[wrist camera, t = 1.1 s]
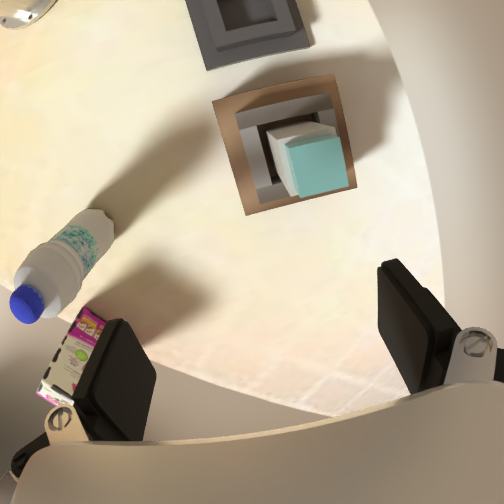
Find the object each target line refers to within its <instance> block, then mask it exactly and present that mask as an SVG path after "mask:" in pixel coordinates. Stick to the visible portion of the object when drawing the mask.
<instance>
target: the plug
mask: <svg viewBox="0 0 504 504" xmlns="http://www.w3.org/2000/svg"><path fill="white" fill-rule="evenodd" d="M264 130H265V134H266V138H267V141H268V145H269V149H270V153H271V157H272V160H273V164H274V168H275V170H276V172H277V173H278V175H279V177H280V179H281V180H282V182H283V184H284V186H285V187H286V189H287V191H288V193H289V194H290V196H291V197H292V196H296V195H299V196H300V198H303V197H307V196H311V195H315V194H319V193H323V192H327V191H332V190H336V189H340V188H344V187H348V186H349V184H348V178H347V172H346V167H345V161H344V156H343V151H342V146H341V141H340V137H338V136H337V134H336V130H335V127H332V126H328V125H324V124H320V123H316V122H311V121H307V120H302V121H298V122H293V123H289V124H284V125H280V126H276V127H272V128H268V129H264Z"/></svg>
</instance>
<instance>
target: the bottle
mask: <svg viewBox="0 0 504 504" xmlns="http://www.w3.org/2000/svg"><path fill="white" fill-rule="evenodd" d="M114 238H115V235H114V222H113V220H112V219H109V218H108V217H107V216H106V215H105V212H104V211H103V210H101V209H95V210H94V209H85V210H83V211H81V212H80V213H78V214H77V215H76V216H75V217H74V218H73V219H72V220H71V221H70V222H69V223H68V224H67V225H66V226H65V227H64V228H63V229H61V230H60V231H59V232H58V233H57V234H56V235H55V236H53V237H52V238H51V239H50V240H49V241H48V242H46V243H42V244H40V245H39V246H37V247H36V248H35V249H33V250H32V251H31V252H30V253H29V254H28V256H27V258H26V259H25V260H24V262H23V263H22V264H21V266H20V267H19V269H18V270H17V272H16V274H15V278H14V286H15V291H14V292H13V293H12V295H11V297H10V308H11V311H12V313H13V314H14V316H15V317H16V318H17V319H18V320H20V321H21V322H23V323H26V324H31V323H34V322H36V321H37V320H38V319H39V318H40V317H42V318H52V317H55V316H57V315H58V314H59V313H60V312H61V311H62V310H63V309H64V308H65V307H66V306H67V305H68V304H69V303H71V302H72V301H73V300H74V299H75V297H76V295H77V293H78V292H79V290H80V289H81V286H82V281H83V280H84V278H85V277H86V276H87V274H88V273H89V272H90V270H91V269H92V268H93V266H94V265H95V264H96V262H97V261H98V260H99V259H100V258H101V257H102V256H103V255H104V254H105V253H106V252H107V251H108V249H109V248H110V247H111V245H112V243H113V241H114Z"/></svg>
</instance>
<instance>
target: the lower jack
mask: <svg viewBox="0 0 504 504" xmlns="http://www.w3.org/2000/svg"><path fill="white" fill-rule="evenodd" d="M185 1H186V4H187V8H188V11H189V14H190V18H191V21H192V24H193V27H194V31H195V34H196V37H197V41H198V44H199V47H200V51H201V54H202V57H203V61H204V64H205V67H206V70H207V71H210V70H214V69H217V68H221V67H224V66H228V65H232V64H235V63H239V62H243V61H247V60H251V59H256V58H260V57H265V56H269V55H274V54H279V53H284V52H290V51H295V50H301V49H307V48H309V47H310V45H309V42H308V38H307V35H306V32H305V29H304V26H303V22H302V19H301V16H300V13H299V10H298V7H297V4H296V1H295V0H185Z"/></svg>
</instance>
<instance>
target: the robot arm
mask: <svg viewBox="0 0 504 504" xmlns="http://www.w3.org/2000/svg"><path fill="white" fill-rule="evenodd" d="M55 1H56V0H0V24H1V25H2V26H3V27H5V28H7V29H21V28H24V27H27V26H29V25H31V24H32V23H34V22H35V21H37V20H38V19H39V18H40V17H42V16H43V15H44V14H45V13H46V12H47V11H48V10H49V9H50V7H51V6H52V5H53V4H54V2H55ZM377 279H378V329H379V333H380V335H381V337H382V339H383V340H384V342H385V344H386V346H387V348H388V350H389V352H390V354H391V356H392V358H393V360H394V362H395V364H396V366H397V368H398V370H399V372H400V373H401V375H402V377H403V380H404V382H405V384H406V386H407V388H408V390H409V392H410V394H411V395H409V396H406V397H403V398H400V399H397V400H394V401H390V402H387V403H384V404H380V405H377V406H374V407H370V408H366V409H363V410H359V411H356V412H352V413H348V414H345V415H341V416H337V417H333V418H329V419H324V420H320V421H316V422H311V423H307V424H301V425H296V426H291V427H286V428H280V429H275V430H269V431H263V432H256V433H249V434H241V435H234V436H225V437H215V438H204V439H192V440H191V439H190V440H175V441H142V440H143V435H144V430H145V426H146V421H147V416H148V412H149V408H150V403H151V398H152V394H153V390H154V386H155V382H156V371H155V369H154V367H153V366H152V364H151V362H150V360H149V359H148V357H147V355H146V354H145V352H144V350H143V348H142V347H141V345H140V343H139V341H138V340H137V338H136V336H135V334H134V332H133V330H132V329H131V327H130V325H129V323H128V322H126V321H124V320H123V319H121V318H120V319H114V320H109V321H107V322H106V324H105V326H104V328H103V330H102V332H101V334H100V336H99V338H98V340H97V342H96V344H95V347H94V349H93V351H92V353H91V355H90V357H89V359H88V361H87V363H86V366H85V368H84V370H83V372H82V374H81V377H80V379H79V381H78V383H77V386H76V388H75V390H74V393H73V395H72V397H71V399H72V400H73V401H74V404H73V406H72V405H70V404H60V405H58V406H56V407H55V408H54V409H52V410H51V411H50V413H49V414H48V415H47V417H46V419H45V429H46V432H45V433H43V434H42V435H41V436H39V437H38V438H36V439H35V440H33V441H32V442H31V443H29V444H28V445H26V446H25V447H24V448H22V449H20V450H19V451H18V452H17V453H16V454H15V455H14V457H13V459H12V463H11V468H12V472H10V471H8V472H7V473H6V474H5V475H4V476H3V477H2V478H1V479H0V504H504V349H500V348H497V341H496V339H495V337H494V336H493V335H492V334H491V333H490V332H489V331H487V330H485V329H483V328H479V327H471V328H466V329H464V330H461V329H460V327H459V326H458V325H457V323H456V322H455V321H454V320H453V318H452V317H451V316H450V315H449V313H448V312H447V311H446V310H445V309H444V307H443V306H442V305H441V304H440V303H439V301H438V300H437V299H436V298H435V297H434V295H433V294H432V293H431V292H430V291H429V290H428V289H427V288H425V287H422V286H421V285H420V283H419V282H418V281H417V280H416V279H415V278H414V276H413V275H412V274H411V273H410V272H409V271H408V270H407V268H406V267H405V266H404V265H403V264H402V263H401V262H400V261H399V260H398V259H397V258H396V259H392V260H388V261H384V262H382V264H381V267H378V269H377Z"/></svg>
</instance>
